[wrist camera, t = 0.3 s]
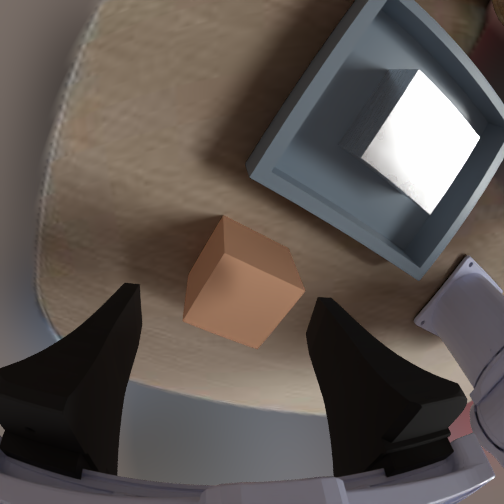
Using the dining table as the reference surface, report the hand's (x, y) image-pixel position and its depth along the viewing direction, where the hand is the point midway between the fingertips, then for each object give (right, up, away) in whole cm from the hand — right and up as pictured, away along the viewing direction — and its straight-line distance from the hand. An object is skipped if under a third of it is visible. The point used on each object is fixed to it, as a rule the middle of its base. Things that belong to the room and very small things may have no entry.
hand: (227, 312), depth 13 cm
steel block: (+10, +10, +5) cm, 15 cm away
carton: (0, +2, +9) cm, 9 cm away
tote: (+10, +10, +6) cm, 15 cm away
